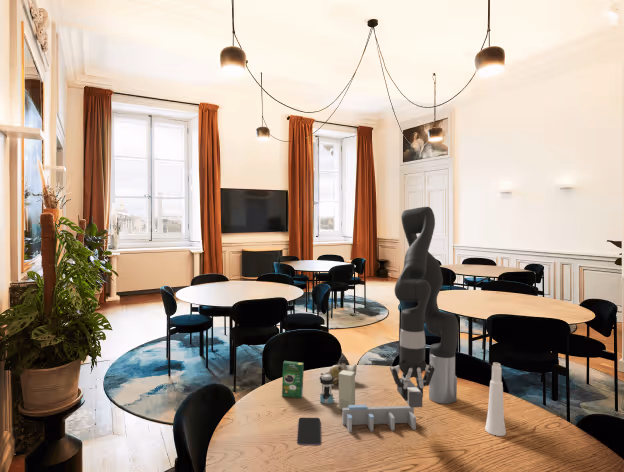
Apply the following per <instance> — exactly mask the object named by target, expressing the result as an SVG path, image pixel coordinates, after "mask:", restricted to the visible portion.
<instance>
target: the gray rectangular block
mask: <svg viewBox="0 0 624 472" xmlns="http://www.w3.org/2000/svg"><path fill="white" fill-rule="evenodd" d="M399 379H400V382H401V381H402V377H399ZM416 386H417V385H415V384H414V383H413V382H412V380H410V381H409V382H408V387H407V389H408V401H405V403H406V404H407V406H410V407H411V408H414V409H415V408H423V398H422V393H421V391H420V390H419V389H418V388H417V387H416ZM396 391H397V392H398V393H399V394H400V396H401V387H398V386H397V385H396Z"/></svg>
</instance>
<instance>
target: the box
mask: <svg viewBox="0 0 624 472" xmlns="http://www.w3.org/2000/svg"><path fill="white" fill-rule="evenodd" d="M348 405H356V375H355V372H351V371H345V370H342V371H341V372H340V373H339V383H338V410H339V409H340V410H342V408H348Z"/></svg>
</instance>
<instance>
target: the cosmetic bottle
mask: <svg viewBox="0 0 624 472" xmlns="http://www.w3.org/2000/svg"><path fill="white" fill-rule="evenodd" d="M487 406H488V407H487V415H486V421H485V422H486V423H485V426H484V427H485V428H484V430H485V431H486V432H487V433H488V434H489V435H492V436H495V435H496V437H503V436H505V435H506V434H507V431H506V425H505V412H504V387H503V381H502V366H501V363H499V362H492V365H491V379H490V381H489V391H488V405H487Z"/></svg>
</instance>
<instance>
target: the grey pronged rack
mask: <svg viewBox="0 0 624 472" xmlns="http://www.w3.org/2000/svg"><path fill="white" fill-rule="evenodd" d="M341 410H342V417H341V418H342V419H341V420H342V421H341V423H342V425H343V426H346V429H347V432H348V433H353V426H355V425H360V426H361V425H367V427H368V430H369V431H370V432H374V425H380V424H381V425H382V424H383V425H385V424H387V425H388V427H389V429H390V430H391V432H392V431H393V432H394V431H395V429H396V427H395V426H396V424H408V425H409V426H410V428H411V429H412V431H413V430H414V431H416V430H417V416H416V415H415V414H414V413H415V408H411V407H410V406H409V405H394V406H393V405H391V406H387V405H386V406H367V404H355V405H348V408H342V409H341Z"/></svg>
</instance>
